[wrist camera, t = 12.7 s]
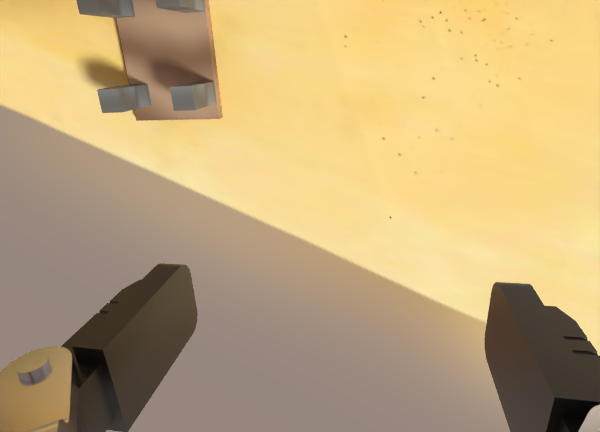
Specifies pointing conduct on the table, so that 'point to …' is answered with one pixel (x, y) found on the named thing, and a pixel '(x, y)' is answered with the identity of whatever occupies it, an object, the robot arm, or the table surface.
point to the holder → (162, 59)
